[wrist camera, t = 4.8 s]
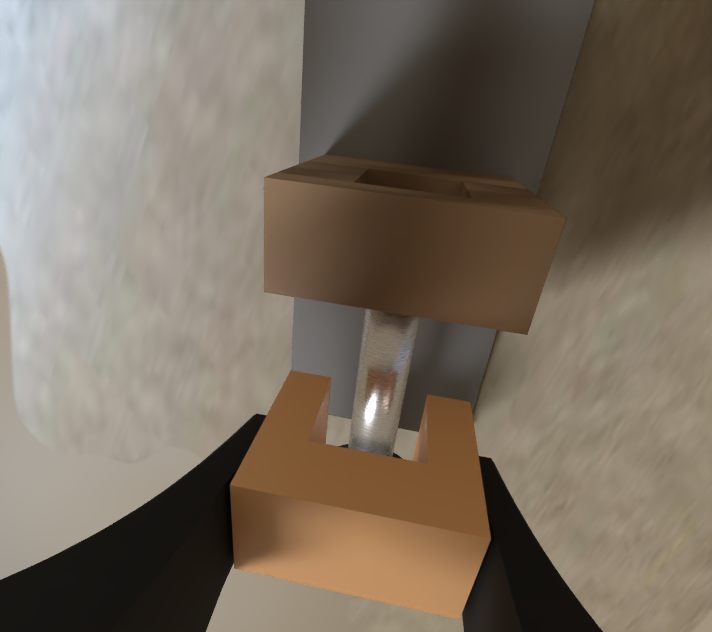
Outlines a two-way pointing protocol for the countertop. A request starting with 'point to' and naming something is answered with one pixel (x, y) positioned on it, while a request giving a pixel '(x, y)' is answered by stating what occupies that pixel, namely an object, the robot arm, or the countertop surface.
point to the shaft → (381, 381)
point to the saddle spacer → (362, 505)
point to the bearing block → (420, 183)
